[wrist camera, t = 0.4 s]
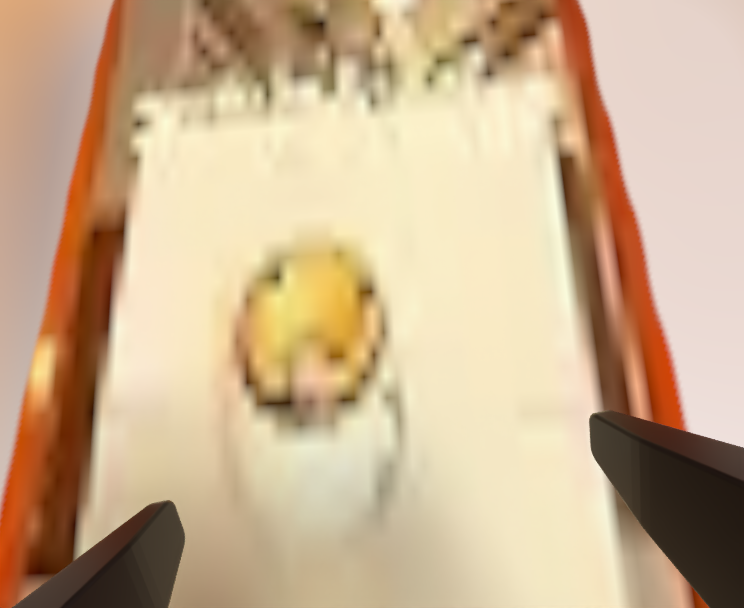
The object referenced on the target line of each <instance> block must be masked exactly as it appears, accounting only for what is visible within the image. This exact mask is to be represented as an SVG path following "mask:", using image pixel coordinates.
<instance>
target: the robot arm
mask: <svg viewBox="0 0 744 608" xmlns="http://www.w3.org/2000/svg"><path fill="white" fill-rule="evenodd" d="M589 426H590V444H591V451H592V454H593V456H594V458H595V460H596V461H597V463H598V464H599V466H600V467H601V469H602V470H603V472H604V473H605V474H606V476H607V477H608V479H609V480H610V482H611V483H612V485H613V486H614V488H615V489H616V490H617V492H618V493H619V495H620V496H621V498H622V499H623V501H624V502H625V503H626V505H627V506H628V508H629V509H630V511H631V512H632V514H633V515H634V516H635V518H636V519H637V520H638V522H639V523H640V524H641V526H642V527H643V528H644V529H645V531H646V532H647V533H648V534H649V536H650V537H651V538H652V539H653V541H654V542H655V543H656V544H657V545H658V546H659V548H660V549H661V550H662V551H663V552H664V554H665V555H666V556H667V557H668V558H669V560H670V561H671V562H672V563H673V564H674V566H675V567H676V568H677V569H678V570H679V572H680V573H681V574H682V575H683V576H684V578H685V579H686V580H687V581H688V582H689V584H690V585H691V586H692V587H693V588H694V590H695V591H696V592H697V593H698V594H699V596H700V597H701V598H702V599H703V600H704V602H705V603H706V604H707V605H708V606H709V607H710V608H744V448H743V447H739V446H736V445H732V444H729V443H725V442H722V441H718V440H715V439H711V438H707V437H704V436H700V435H696V434H693V433H690V432H686V431H683V430H679V429H675V428H672V427H668V426H665V425H661V424H658V423H654V422H651V421H647V420H644V419H640V418H636V417H633V416H629V415H626V414H622V413H619V412H615V411H611V410H607V411H603V412H598V413H593V414H592V415H591V416H590V419H589ZM184 543H185V533H184V529H183V527H182V524H181V521H180V518H179V515H178V512H177V510H176V507H175V505H174V503H173V502H172V501H170V500H167V501H162V502H157V503H152V504H150V505H148V506H147V507H145V508H144V509H143V510H141V511H140V512H139V513H137V514H136V515H135V516H133V517H132V518H131V519H129V520H128V521H127V522H125V523H124V524H123V525H121V526H120V527H119V528H117V529H116V530H115V531H113V532H112V533H111V534H109V535H108V536H107V537H105V538H104V539H103V540H101V541H100V542H99V543H97V544H96V545H95V546H93V547H92V548H91V549H89V550H88V551H87V552H85V553H84V554H83V555H81V556H80V557H79V558H77V559H76V560H75V561H73V562H72V563H71V564H69V565H68V566H67V567H66V568H64V569H63V570H62V571H60V572H59V573H58V574H56V575H55V576H54V577H52V578H51V579H50V580H48V581H47V582H46V583H44V584H43V585H42V586H40V587H39V588H38V589H36V590H35V591H34V592H32V593H31V594H30V595H28V596H27V597H26V598H24V599H23V600H22V601H20V602H19V603H18V604H16V605H15V606H14V607H12V608H168V606H169V602H170V598H171V594H172V591H173V587H174V583H175V579H176V575H177V571H178V567H179V564H180V560H181V556H182V552H183V548H184Z"/></svg>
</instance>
